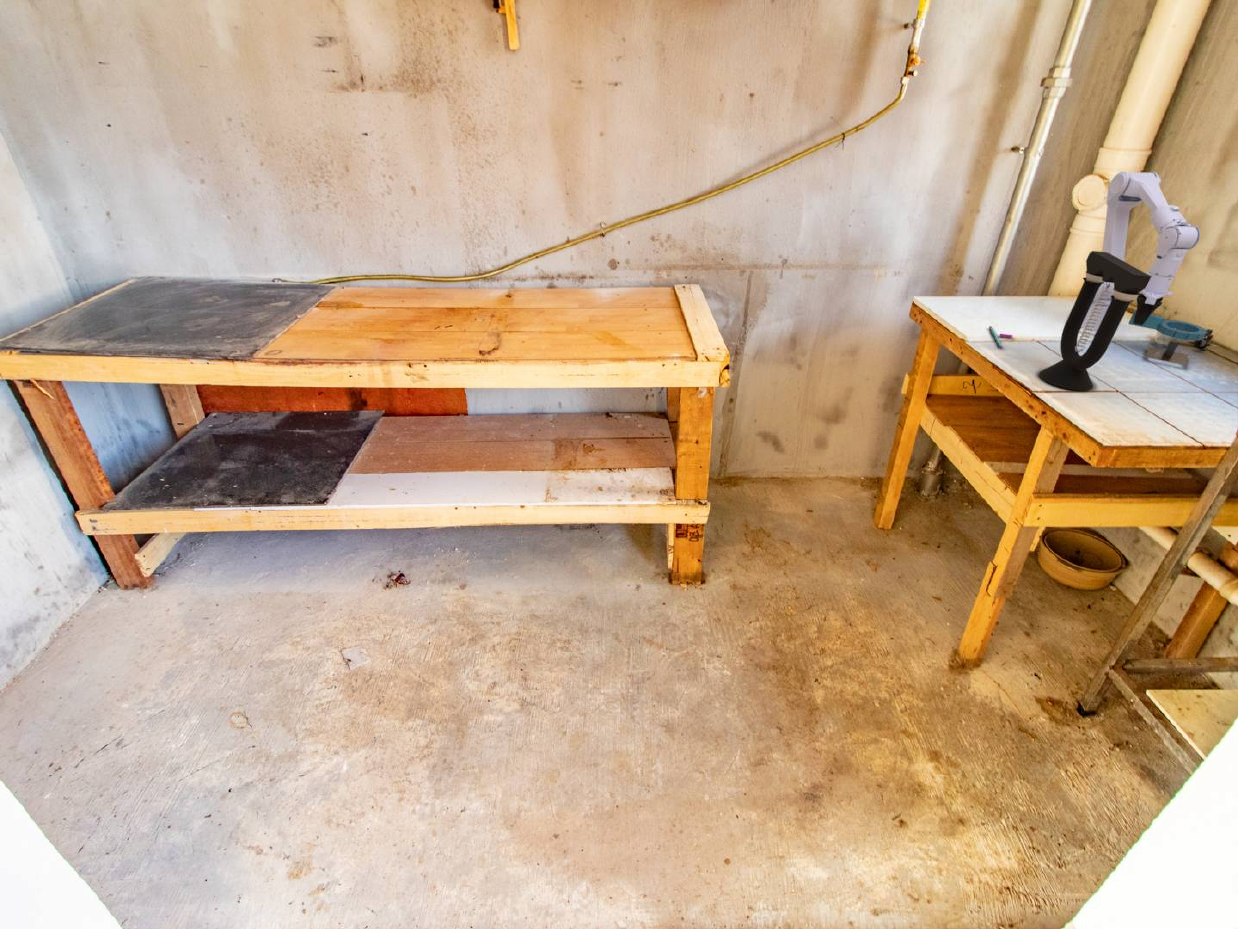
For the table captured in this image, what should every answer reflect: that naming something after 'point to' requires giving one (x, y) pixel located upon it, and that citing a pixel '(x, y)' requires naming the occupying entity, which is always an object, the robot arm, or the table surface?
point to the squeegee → (1000, 336)
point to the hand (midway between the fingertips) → (1138, 322)
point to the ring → (1172, 327)
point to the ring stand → (1168, 353)
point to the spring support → (1126, 289)
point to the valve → (1199, 344)
